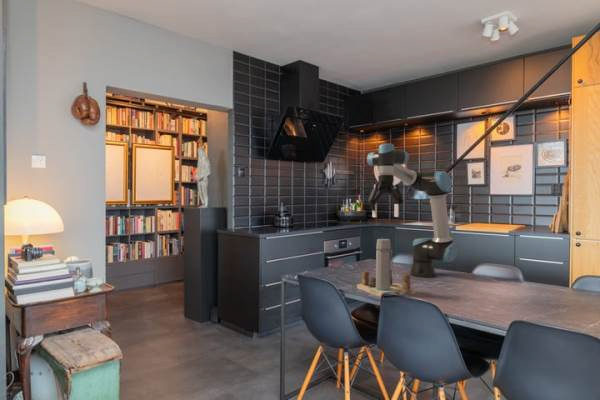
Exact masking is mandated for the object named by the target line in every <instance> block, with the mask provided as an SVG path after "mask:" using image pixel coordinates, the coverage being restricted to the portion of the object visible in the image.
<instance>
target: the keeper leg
mask: <svg viewBox="0 0 600 400" xmlns="http://www.w3.org/2000/svg"><path fill="white" fill-rule="evenodd" d="M391 279H392V280H391ZM391 279H390V285H391V284H392V282H393V276H392V277H391ZM369 283H370V285H369V286H370V287H375V286H376V277H374V276H369Z"/></svg>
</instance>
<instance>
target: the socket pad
mask: <svg viewBox="0 0 600 400" xmlns="http://www.w3.org/2000/svg"><path fill="white" fill-rule="evenodd" d="M371 289H373V290H376V291H378V292H381V293H388V292H396V291H399V290H396V289H393V288H390V289H389V290H379V289H377V288H376V287H375V288H371Z"/></svg>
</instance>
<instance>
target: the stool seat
mask: <svg viewBox="0 0 600 400" xmlns="http://www.w3.org/2000/svg"><path fill="white" fill-rule="evenodd" d="M391 277H392V278H393V269H391ZM411 277H412V275H410V274H407V273H405V274H402V284H400V283H396V282H393V281H392V284H391V285H390V288H393V289H396V290H399V291H396V292H388V293H390V294H397V295H396V296H404V295H411V294H416V289H415V288H412V287H411ZM369 285H370V272H369V271H367V270H365V271H362V270H361V281H360V283H357V284H356V286H357V289H359V290H361V291H364V292H366V293H369V294H370V295H373V296H377V297H379V298H382V297H381V295H382V294H384V293H381V292H378V291H376V290H373V289H371V288H375V287H376V286H375V287H370V286H369Z"/></svg>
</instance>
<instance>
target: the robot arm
mask: <svg viewBox="0 0 600 400" xmlns="http://www.w3.org/2000/svg"><path fill="white" fill-rule="evenodd" d="M409 159H410V155H409V153H408V152H407V151H406V150H403V149H397V148H396V149H395V144H393V143H382V144H380V145H378V151H373V152H372V151H371V152H370V153H368V154H367V157H366V162H367V164H368V165H369V166H371V167H376V166H377V167H378V177H377V178H378V180H377V181H378V183H374V184H373V185H372V187H373V188H372V190H371V193H370V194H369V196H368V199H367V203H369V204H370V210H371V212H372V214H371V215H372V218H377V217H378V216H377V213H378V212H377V208H378V204H377V202H378V201H379V199H380V198H381V196H382V195H384V194H389V195H390V197H391V198H392V200H393V201H394V205H393V206H394V207H393V208H394V210H393V212H394V213H393V216H394V218H395V217H396V218H399V217H400V210H401V205H402V204H403V203H404V199H403V196H402V194H401V192H400V189H399V184H394V181H395V178H396V179H398V180H400V181H401V182H402V183H403V185H405V186H406V187H408V188H411V189H413V190H415V191H418V192H424V193H425V192H426V196H427V197H428V198H429V199H430V200H429V201H430V208H431V218H432V229H433V237H426V238H425V237H422V238H421V237H420V238H415V239H414V240H413V241H412V264H411V268H410V270H409V275H411V277H418V278H433V277H436V270H435V268H434V263H433V261H438V262H439V261H440V262H444V263H446V262H448V263H450V262H453V261H455V259H456V258H457V255H458V251H459V249H458V248H459V247H458V244H457V243H456V242H454V241H453V237H452V236H450V227H449V219H448V218H449V217H448V206H447V196H448V194H449V192H450V190H452V179H451V176H450V175H449V173H447V172H446V171H441V170H440V171H439V170H438V171H436V170H435V171H415V170H413V169H408V168H407V167H405V166H404V165H406V164H407V163H408V161H409ZM394 177H395V178H394Z"/></svg>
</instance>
